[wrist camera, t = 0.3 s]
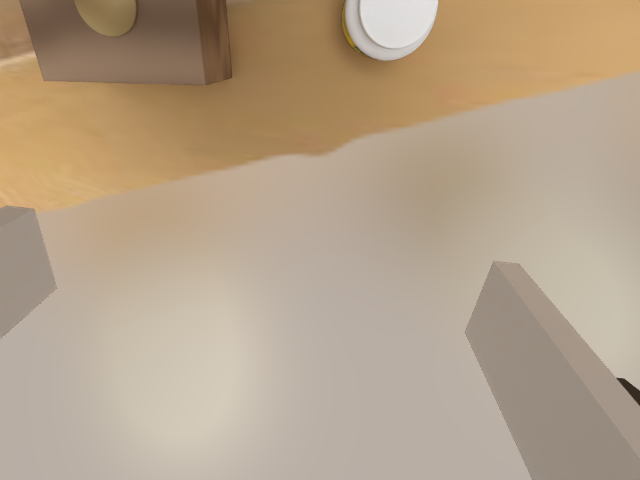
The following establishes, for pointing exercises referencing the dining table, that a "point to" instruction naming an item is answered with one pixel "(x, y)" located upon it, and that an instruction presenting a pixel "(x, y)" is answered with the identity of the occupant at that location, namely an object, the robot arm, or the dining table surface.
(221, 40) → the socket block
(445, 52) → the dining table surface
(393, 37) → the pill bottle
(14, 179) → the dining table surface
